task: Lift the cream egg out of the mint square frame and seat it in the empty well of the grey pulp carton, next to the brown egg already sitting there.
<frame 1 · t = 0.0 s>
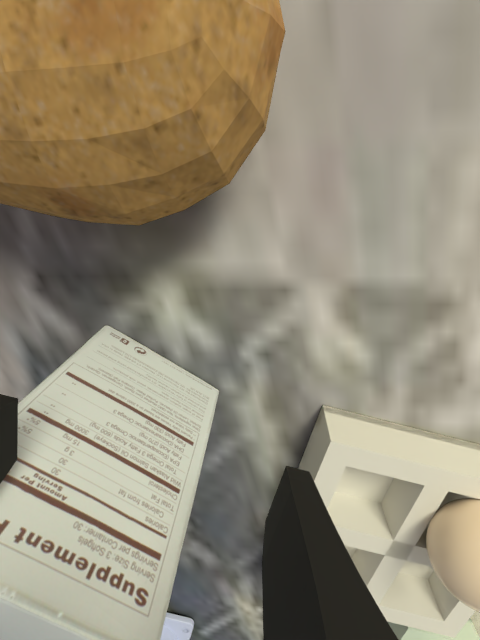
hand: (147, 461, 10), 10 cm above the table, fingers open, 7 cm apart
potato: (116, 98, 16), on the table
carton: (383, 504, 22), on the table
supplement box: (138, 399, 21), on the table, touching gripper
mint square frame: (418, 625, 26), on the table
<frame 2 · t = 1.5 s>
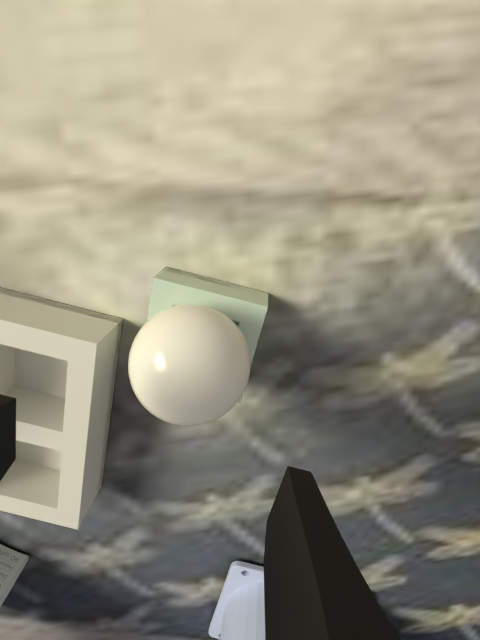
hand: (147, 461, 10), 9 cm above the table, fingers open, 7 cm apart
carton: (10, 386, 21), on the table
mint square frame: (206, 327, 18), on the table
cream egg: (190, 363, 15), point 4 cm above the table, touching mint square frame
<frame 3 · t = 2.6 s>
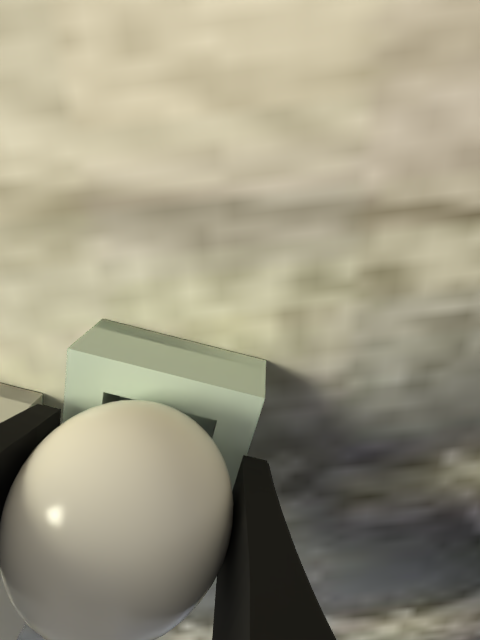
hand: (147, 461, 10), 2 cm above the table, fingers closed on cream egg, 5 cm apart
mint square frame: (170, 407, 12), on the table
cream egg: (126, 509, 8), point 4 cm above the table, touching mint square frame, gripper
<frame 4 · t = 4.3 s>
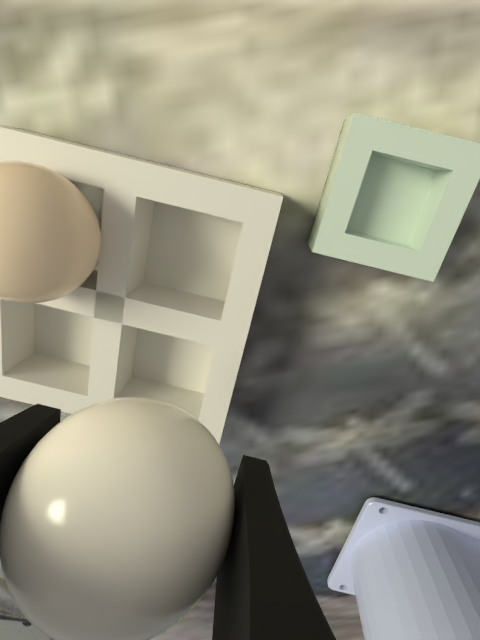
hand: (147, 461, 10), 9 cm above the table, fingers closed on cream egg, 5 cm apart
carton: (134, 287, 18), on the table
supplement box: (62, 502, 24), on the table
brown egg: (28, 235, 13), point 4 cm above the table, touching carton
mint square frame: (381, 199, 15), on the table
cream egg: (127, 506, 8), point 11 cm above the table, touching gripper
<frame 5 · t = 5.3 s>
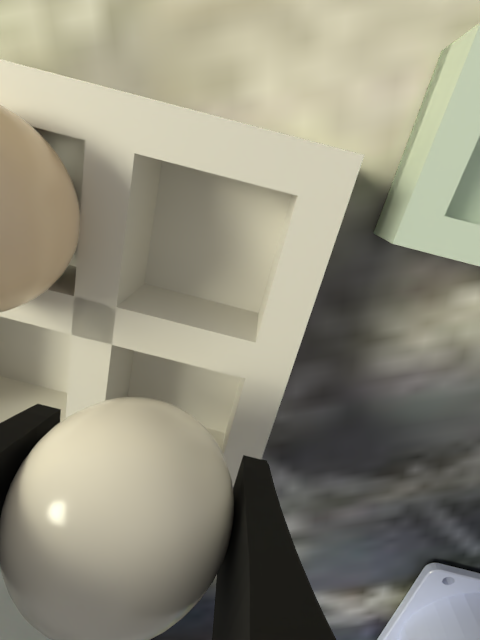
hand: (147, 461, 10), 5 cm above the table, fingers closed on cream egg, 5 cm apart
carton: (131, 290, 13), on the table
supplement box: (39, 555, 19), on the table
cream egg: (126, 506, 8), point 6 cm above the table, touching gripper
when the fingers open (5 cm above the table, at t = 5.9 s): cream egg drops 2 cm, resting on carton.
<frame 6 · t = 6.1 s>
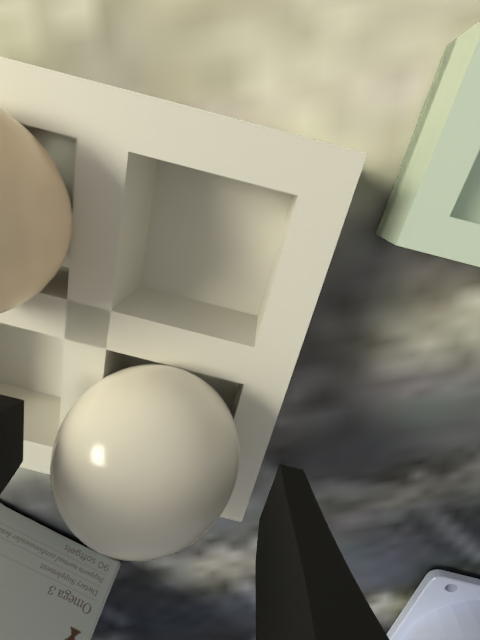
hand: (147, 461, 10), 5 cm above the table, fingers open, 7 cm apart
carton: (127, 292, 13), on the table
supplement box: (35, 561, 19), on the table
cream egg: (150, 454, 10), point 4 cm above the table, touching carton
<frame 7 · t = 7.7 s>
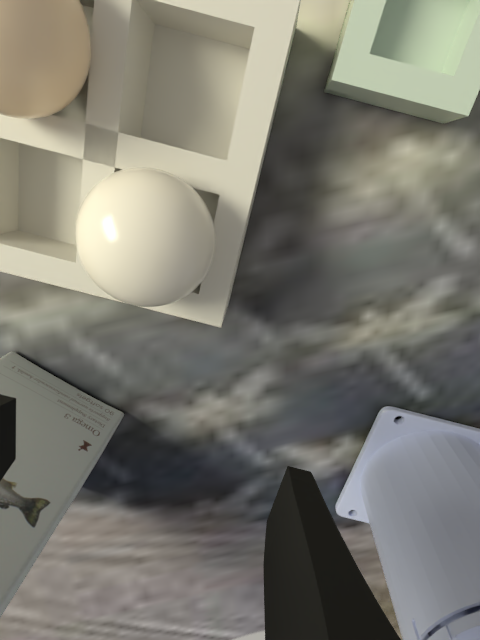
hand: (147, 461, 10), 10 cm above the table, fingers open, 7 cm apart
carton: (130, 151, 16), on the table
supplement box: (50, 420, 22), on the table
brown egg: (5, 28, 11), point 4 cm above the table, touching carton
mint square frame: (409, 34, 14), on the table
cream egg: (148, 239, 13), point 4 cm above the table, touching carton
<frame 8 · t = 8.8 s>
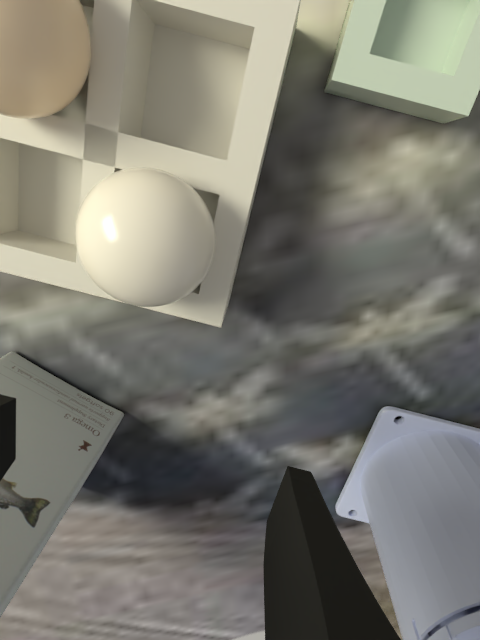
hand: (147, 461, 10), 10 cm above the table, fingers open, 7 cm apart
carton: (130, 151, 16), on the table
supplement box: (50, 420, 22), on the table
brown egg: (5, 28, 11), point 4 cm above the table, touching carton
mint square frame: (409, 34, 14), on the table
cream egg: (148, 239, 13), point 4 cm above the table, touching carton
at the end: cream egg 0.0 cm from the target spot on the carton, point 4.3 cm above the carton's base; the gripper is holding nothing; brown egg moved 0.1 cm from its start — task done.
